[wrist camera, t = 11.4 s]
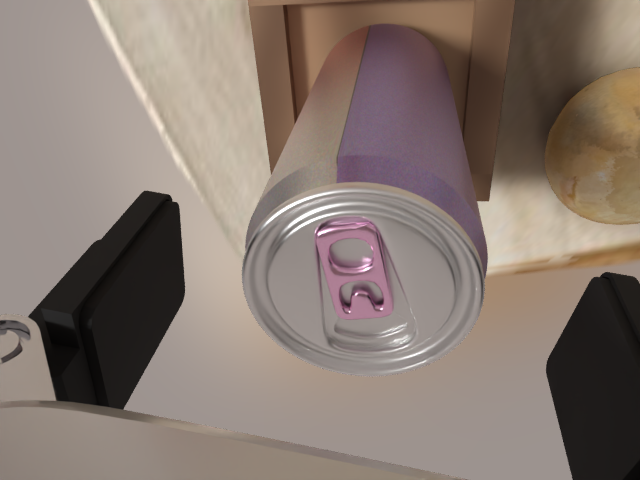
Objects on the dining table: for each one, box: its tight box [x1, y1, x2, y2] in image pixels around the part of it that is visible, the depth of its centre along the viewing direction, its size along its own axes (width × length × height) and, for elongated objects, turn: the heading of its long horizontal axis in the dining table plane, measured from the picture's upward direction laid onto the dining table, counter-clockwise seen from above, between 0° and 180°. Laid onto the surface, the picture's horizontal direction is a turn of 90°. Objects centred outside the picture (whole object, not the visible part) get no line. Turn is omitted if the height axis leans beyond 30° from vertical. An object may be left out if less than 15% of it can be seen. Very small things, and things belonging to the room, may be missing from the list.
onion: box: [545, 67, 640, 225], centre depth 26 cm, size 8×8×7 cm
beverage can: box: [242, 24, 488, 376], centre depth 18 cm, size 6×6×15 cm
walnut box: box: [248, 0, 515, 201], centre depth 26 cm, size 11×11×6 cm
